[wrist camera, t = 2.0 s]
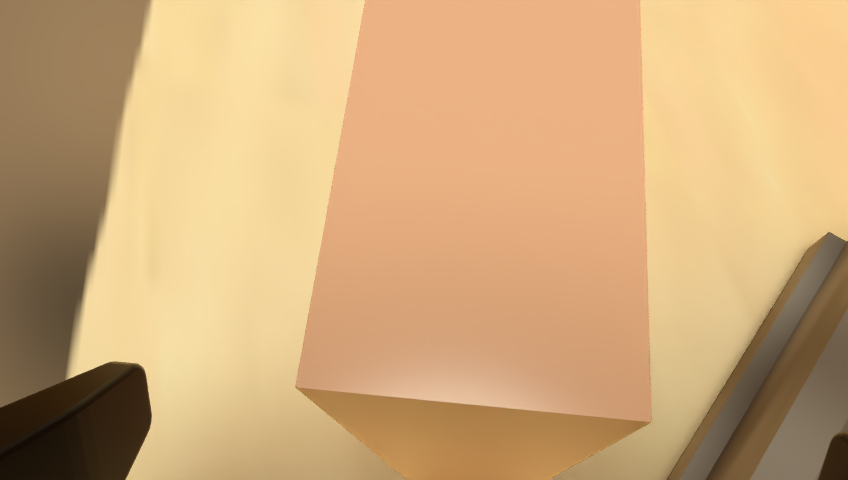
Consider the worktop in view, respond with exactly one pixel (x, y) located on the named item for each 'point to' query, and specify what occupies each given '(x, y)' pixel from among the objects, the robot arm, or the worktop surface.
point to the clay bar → (486, 239)
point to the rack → (783, 383)
